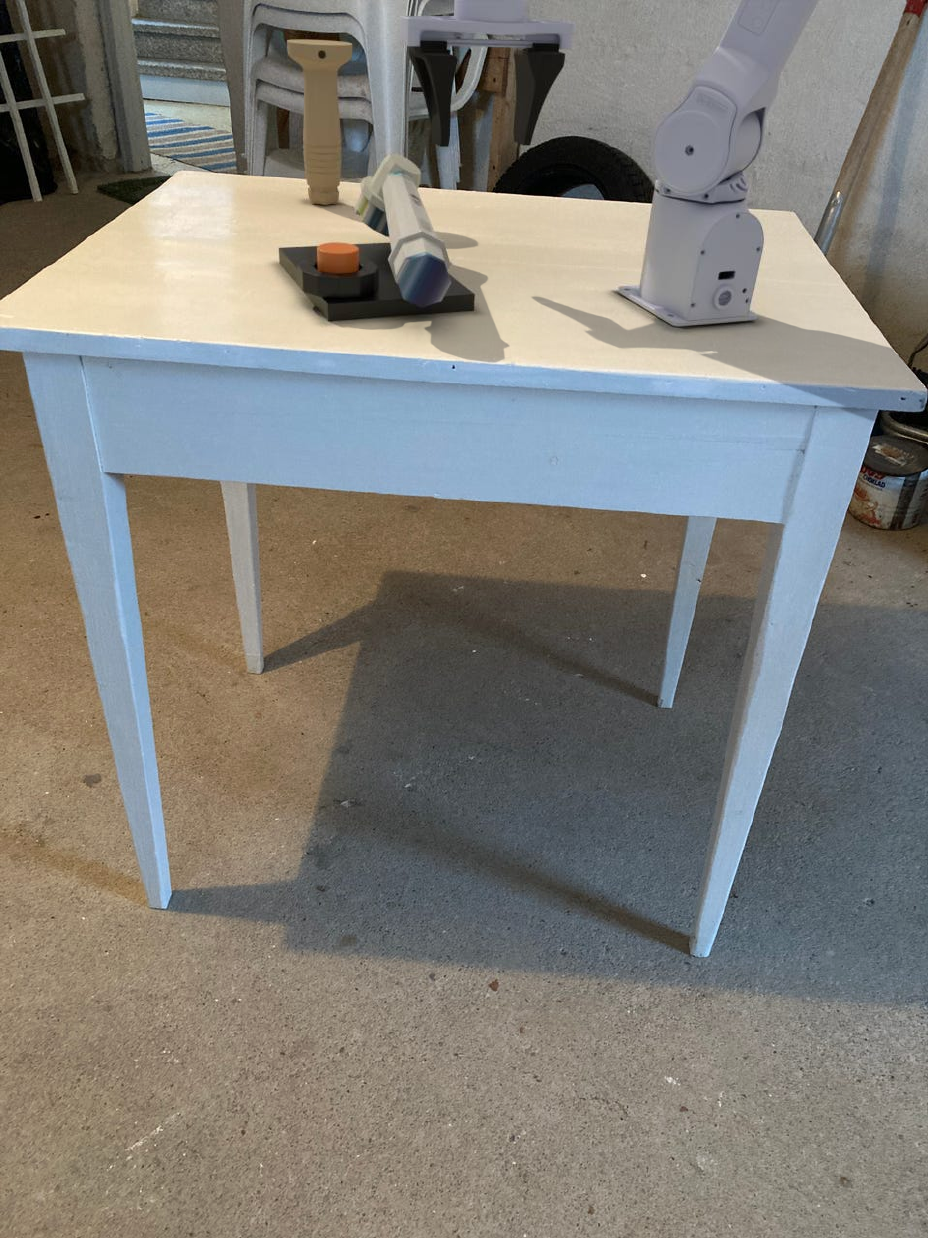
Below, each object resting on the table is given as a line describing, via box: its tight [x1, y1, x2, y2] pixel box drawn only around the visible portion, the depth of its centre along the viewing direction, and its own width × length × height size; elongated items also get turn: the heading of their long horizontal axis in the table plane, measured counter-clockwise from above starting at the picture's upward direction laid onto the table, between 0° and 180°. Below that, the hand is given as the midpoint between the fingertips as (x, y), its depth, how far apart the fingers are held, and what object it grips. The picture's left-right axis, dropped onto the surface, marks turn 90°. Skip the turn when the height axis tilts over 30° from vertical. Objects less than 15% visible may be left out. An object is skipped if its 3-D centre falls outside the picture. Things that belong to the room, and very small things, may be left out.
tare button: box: [317, 241, 359, 273], centre depth 76 cm, size 3×3×2 cm
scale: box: [278, 241, 476, 322], centre depth 82 cm, size 16×13×3 cm
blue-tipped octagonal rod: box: [354, 152, 452, 307], centre depth 81 cm, size 5×7×25 cm
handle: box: [286, 39, 353, 206], centre depth 102 cm, size 5×6×15 cm
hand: (481, 143), depth 85 cm, fingers open, 7 cm apart
